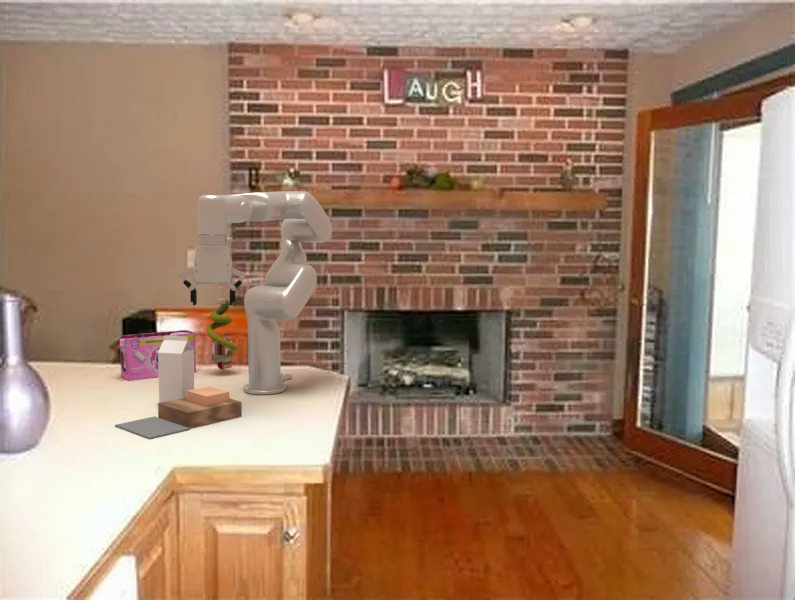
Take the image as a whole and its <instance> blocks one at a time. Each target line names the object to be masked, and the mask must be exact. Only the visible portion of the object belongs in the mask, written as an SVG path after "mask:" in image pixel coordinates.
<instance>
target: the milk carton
mask: <svg viewBox="0 0 795 600" xmlns="http://www.w3.org/2000/svg"><path fill="white" fill-rule="evenodd" d="M158 370H159V377H158V400H159V402H158V403H161V402H166V401H172V400H177V399H182V398H187V391H188V390H193V389H195V373H194V350H193V348H192V346H191V345H190V343H189V342H188V337H178V336H164V341H163V343H162V345H161V347H160V349H159V351H158Z"/></svg>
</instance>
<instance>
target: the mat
mask: <svg viewBox="0 0 795 600" xmlns="http://www.w3.org/2000/svg"><path fill="white" fill-rule="evenodd" d="M114 427H115V428H119V429H120V430H123V431H125V432H126V431H127V432H129V433H132V434H135V435H137V436H140V437H143V438H145V439H148V440H152V439H157V438H161V437H164V436H168V435H169V436H170V435H174V434H178V433H181V432H187V431H190V430H191V428H188V427H185V426H182V425H179V424H176V423H173V422H170V421H167V420H164V419H161V418H158V417H157V416H150V417H145V418H140V419H136V420H132V421H127V422H122V423H117V424H114Z"/></svg>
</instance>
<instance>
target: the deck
mask: <svg viewBox="0 0 795 600" xmlns="http://www.w3.org/2000/svg"><path fill="white" fill-rule="evenodd" d="M242 404H243V403H242V401H241V400H238V399H234V398H231V397H229V401H228V402H223V403H219V404H214V405H209V406H205V405H202V404H199V403H195V402H192V401H188V400H187V398H182V399H177V400H172V401H166V402H161V403H159V402H157V413H158V414H157V415H158V418H161V419H164V420H167V421H170V422H173V423H176V424H179V425H182V426H185V427H188V428H190V429H194V428H198V427H203V426H206V425H210V424H215V423H218V422H223V421H227V420H231V419H236V418H240V417H242V415H243V413H242V411H243V409H242V407H243V405H242Z"/></svg>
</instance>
